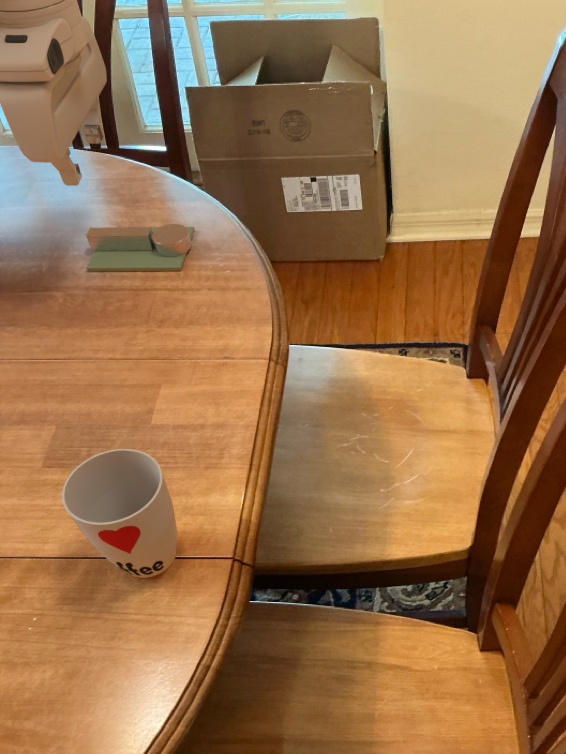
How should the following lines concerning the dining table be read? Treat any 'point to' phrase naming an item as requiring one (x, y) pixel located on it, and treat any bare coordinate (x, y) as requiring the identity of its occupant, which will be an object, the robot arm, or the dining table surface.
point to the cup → (124, 510)
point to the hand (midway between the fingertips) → (85, 161)
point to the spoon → (141, 239)
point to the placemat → (136, 259)
